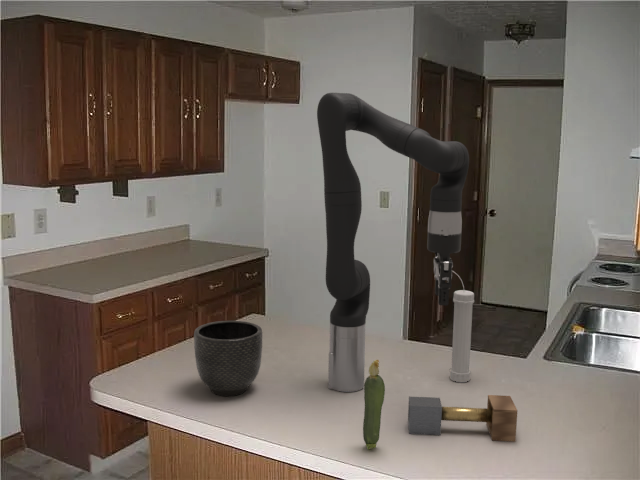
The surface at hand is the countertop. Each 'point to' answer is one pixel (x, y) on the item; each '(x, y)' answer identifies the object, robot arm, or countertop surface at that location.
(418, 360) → the countertop surface
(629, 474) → the countertop surface
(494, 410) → the socket
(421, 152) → the robot arm
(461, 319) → the pipe
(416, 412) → the sleeve
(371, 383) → the vegetable
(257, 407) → the countertop surface
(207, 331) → the planter
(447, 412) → the tube
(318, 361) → the countertop surface
